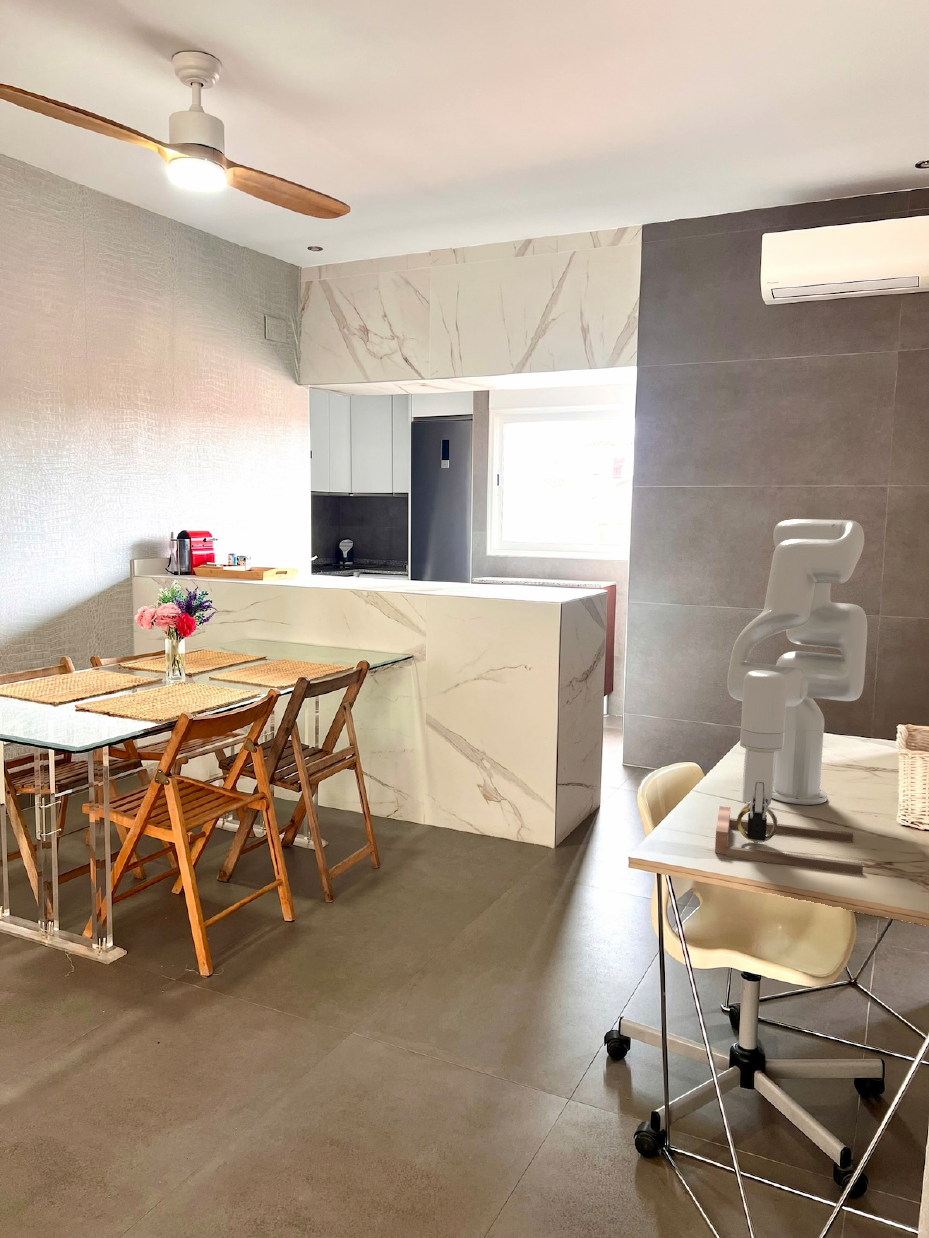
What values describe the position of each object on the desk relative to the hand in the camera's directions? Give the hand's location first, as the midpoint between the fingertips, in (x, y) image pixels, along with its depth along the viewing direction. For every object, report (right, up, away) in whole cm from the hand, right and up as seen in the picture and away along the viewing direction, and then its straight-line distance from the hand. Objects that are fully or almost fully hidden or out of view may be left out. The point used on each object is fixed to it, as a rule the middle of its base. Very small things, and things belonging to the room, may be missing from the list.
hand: (756, 836), depth 163 cm
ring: (0, -1, 0) cm, 1 cm away
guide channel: (+5, -2, -2) cm, 5 cm away
